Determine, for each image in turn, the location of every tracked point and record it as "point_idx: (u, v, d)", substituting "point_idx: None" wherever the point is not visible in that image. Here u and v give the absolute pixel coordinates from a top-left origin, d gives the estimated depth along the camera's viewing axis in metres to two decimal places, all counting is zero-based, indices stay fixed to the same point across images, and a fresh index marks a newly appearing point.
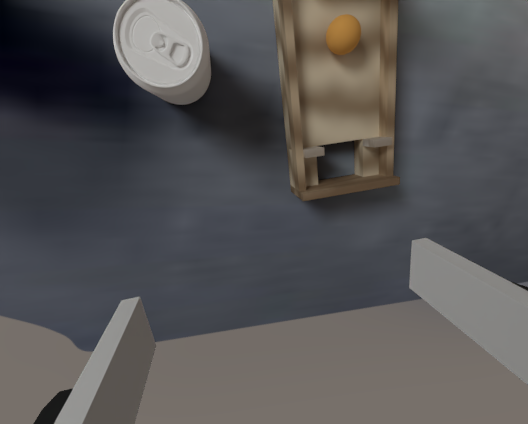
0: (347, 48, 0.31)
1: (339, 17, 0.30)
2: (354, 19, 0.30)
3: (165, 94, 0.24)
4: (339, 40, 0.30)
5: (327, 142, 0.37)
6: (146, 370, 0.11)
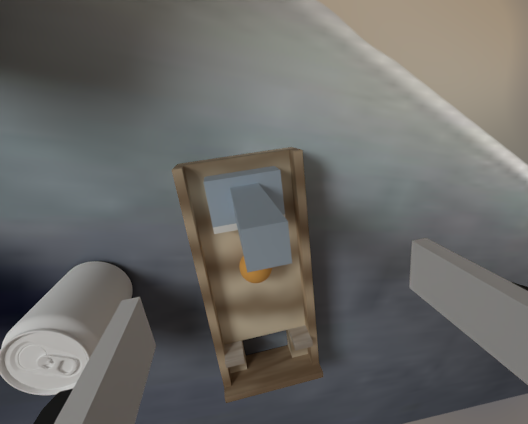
0: (258, 282, 0.32)
1: None
2: None
3: None
4: (248, 280, 0.31)
5: (253, 336, 0.38)
6: (146, 370, 0.11)
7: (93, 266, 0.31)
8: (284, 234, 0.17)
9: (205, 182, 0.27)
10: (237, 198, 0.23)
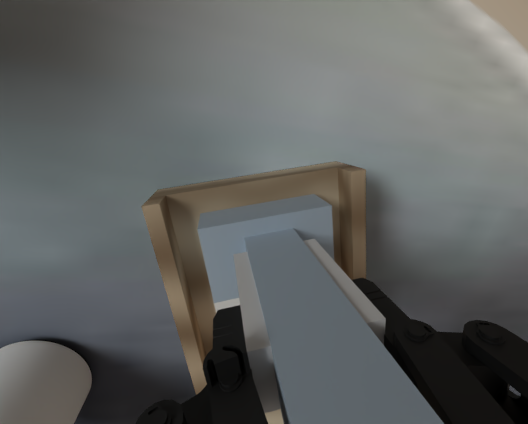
0: None
1: None
2: None
3: None
4: None
5: None
6: None
7: (22, 353, 0.20)
8: None
9: (201, 230, 0.15)
10: (265, 278, 0.11)
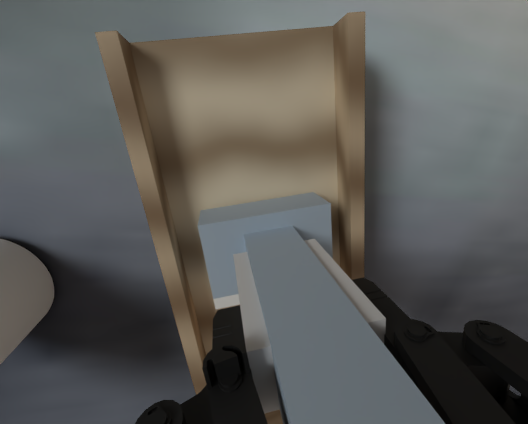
0: None
1: None
2: None
3: None
4: None
5: None
6: None
7: None
8: None
9: (201, 226, 0.15)
10: (264, 274, 0.11)
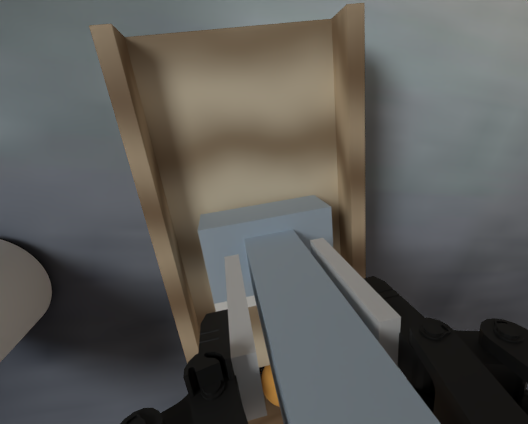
0: None
1: (278, 404, 0.23)
2: None
3: None
4: None
5: (260, 365, 0.23)
6: None
7: None
8: None
9: (201, 231, 0.15)
10: (265, 280, 0.11)
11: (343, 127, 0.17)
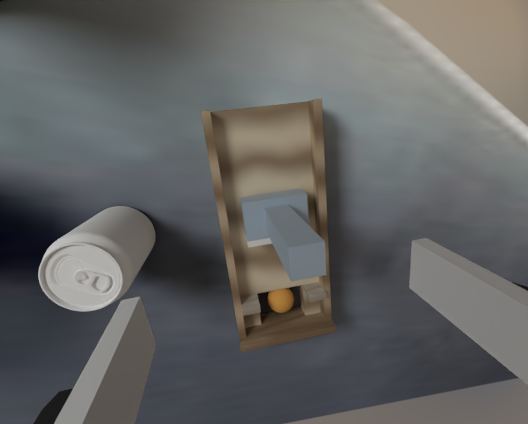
0: None
1: (277, 305, 0.39)
2: (287, 308, 0.39)
3: None
4: None
5: (268, 290, 0.39)
6: (146, 370, 0.11)
7: (121, 208, 0.33)
8: (321, 251, 0.21)
9: (243, 203, 0.31)
10: (274, 218, 0.27)
11: (314, 154, 0.33)
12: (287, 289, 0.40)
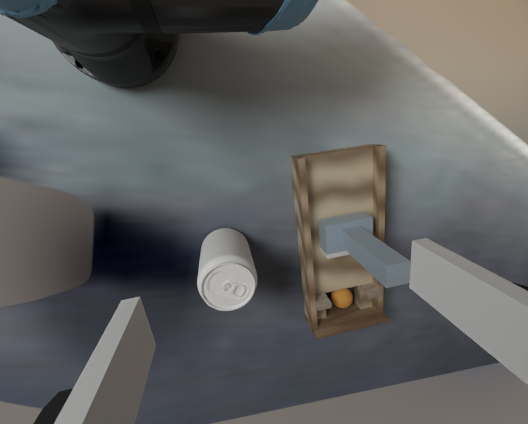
0: None
1: (341, 303, 0.49)
2: (349, 305, 0.49)
3: None
4: None
5: (333, 290, 0.49)
6: (146, 370, 0.11)
7: (228, 231, 0.43)
8: (407, 268, 0.31)
9: (326, 226, 0.41)
10: (358, 240, 0.37)
11: (376, 185, 0.43)
12: (348, 290, 0.50)
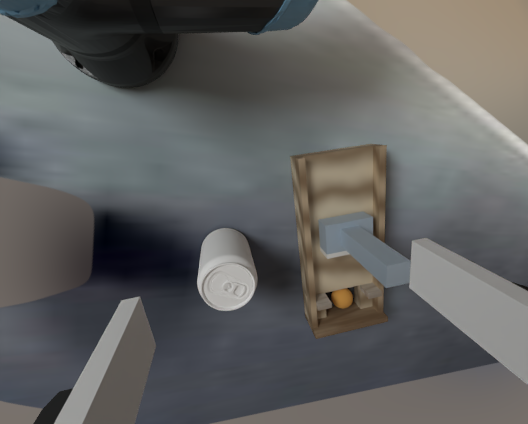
0: None
1: (342, 304, 0.49)
2: (349, 305, 0.49)
3: None
4: None
5: (333, 289, 0.49)
6: (146, 370, 0.11)
7: (228, 231, 0.43)
8: (407, 267, 0.31)
9: (326, 226, 0.41)
10: (358, 240, 0.37)
11: (376, 185, 0.43)
12: (348, 290, 0.50)
